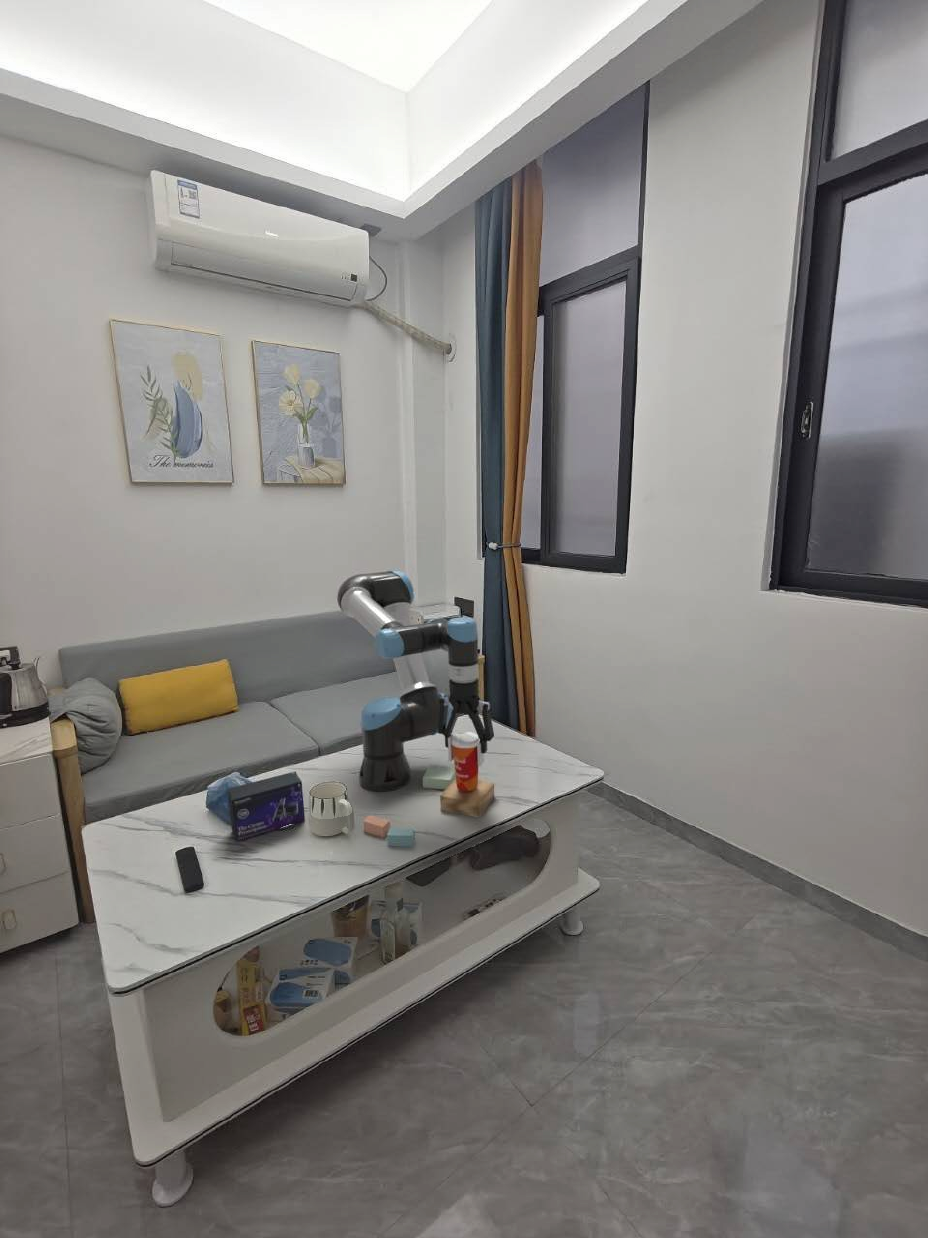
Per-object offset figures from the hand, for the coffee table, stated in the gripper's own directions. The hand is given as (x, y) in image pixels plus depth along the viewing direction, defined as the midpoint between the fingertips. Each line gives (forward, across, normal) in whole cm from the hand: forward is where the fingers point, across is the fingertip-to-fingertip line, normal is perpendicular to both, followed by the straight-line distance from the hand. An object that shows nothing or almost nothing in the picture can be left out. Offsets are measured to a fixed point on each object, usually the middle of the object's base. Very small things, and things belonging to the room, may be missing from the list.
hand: (466, 761), depth 152 cm
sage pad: (+12, -12, +8) cm, 19 cm away
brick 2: (+12, -8, -22) cm, 26 cm away
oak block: (+12, 0, 0) cm, 12 cm away
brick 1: (+12, -16, -20) cm, 28 cm away
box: (+12, -43, -28) cm, 53 cm away
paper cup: (+7, 0, 0) cm, 7 cm away
